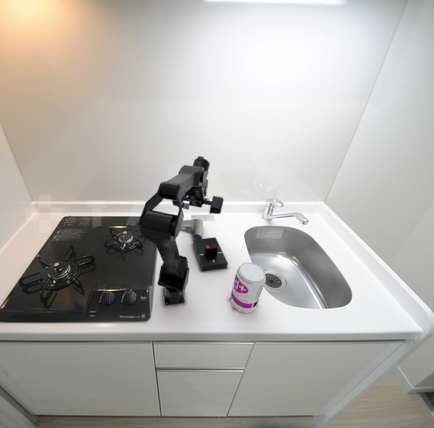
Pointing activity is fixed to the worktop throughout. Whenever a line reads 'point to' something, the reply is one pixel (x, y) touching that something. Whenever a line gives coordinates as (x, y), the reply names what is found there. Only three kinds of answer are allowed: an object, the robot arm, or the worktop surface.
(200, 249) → the stove panel
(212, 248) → the stove knob
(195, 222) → the infrared thermometer
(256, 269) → the supplement can
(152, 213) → the robot arm
